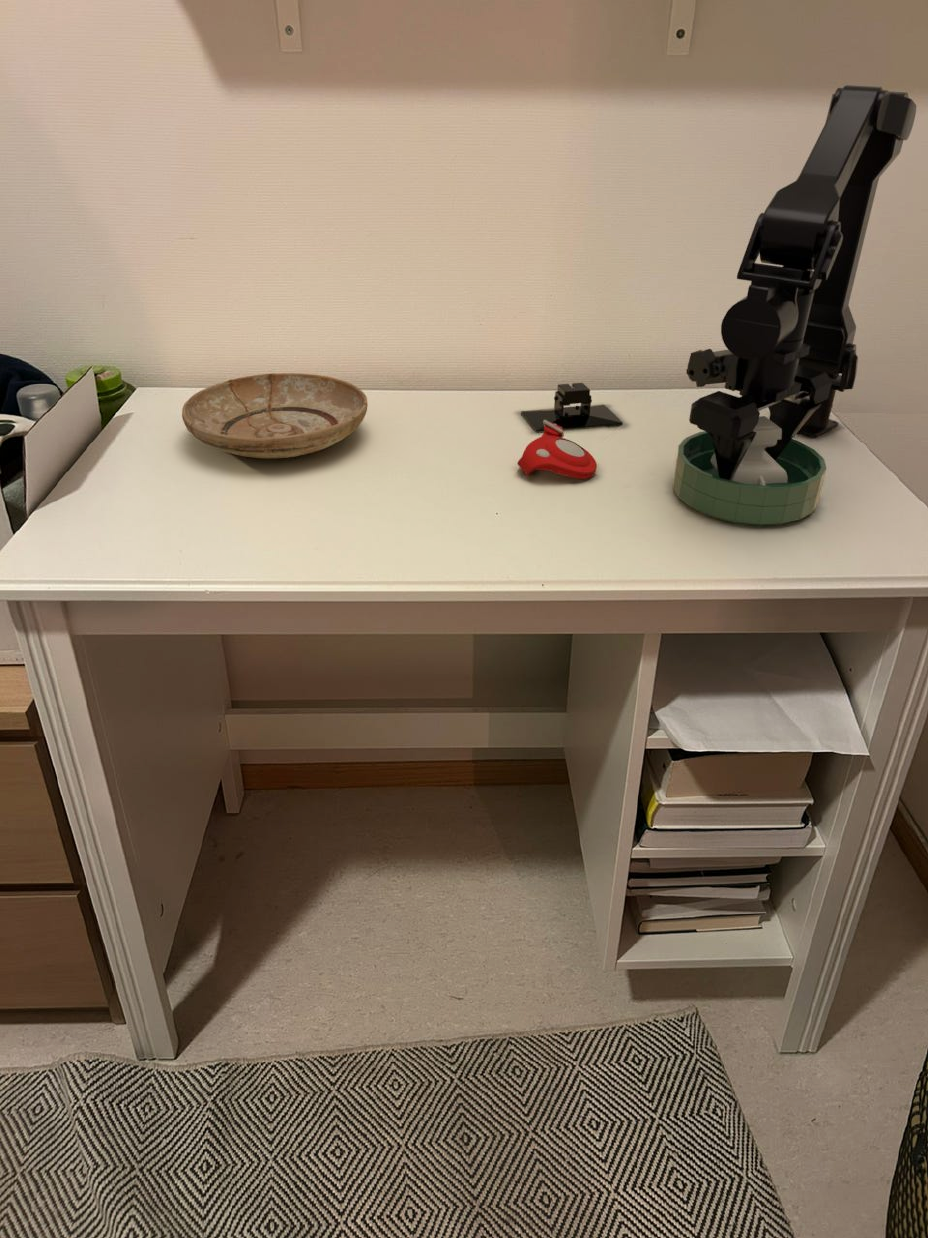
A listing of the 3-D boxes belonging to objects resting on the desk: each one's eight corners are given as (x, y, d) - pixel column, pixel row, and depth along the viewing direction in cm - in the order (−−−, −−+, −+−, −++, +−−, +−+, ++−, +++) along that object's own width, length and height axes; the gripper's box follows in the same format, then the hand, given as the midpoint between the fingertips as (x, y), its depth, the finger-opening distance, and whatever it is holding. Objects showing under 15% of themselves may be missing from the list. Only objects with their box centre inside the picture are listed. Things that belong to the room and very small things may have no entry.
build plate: (603, 407, 130) (607, 375, 127) (623, 426, 124) (628, 393, 121) (520, 413, 127) (522, 380, 125) (536, 433, 121) (539, 399, 119)
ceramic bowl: (347, 397, 131) (345, 363, 128) (388, 463, 113) (387, 425, 110) (180, 414, 125) (174, 379, 122) (195, 487, 107) (188, 447, 104)
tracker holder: (616, 465, 110) (554, 465, 105) (600, 495, 113) (539, 496, 107) (560, 411, 117) (499, 408, 111) (547, 441, 120) (487, 439, 114)
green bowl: (725, 455, 116) (732, 418, 113) (842, 499, 106) (853, 459, 103) (644, 492, 107) (649, 452, 104) (764, 544, 97) (773, 501, 94)
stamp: (788, 506, 103) (804, 436, 99) (732, 510, 102) (746, 439, 98) (755, 472, 111) (768, 405, 106) (702, 475, 110) (714, 408, 105)
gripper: (759, 302, 106) (735, 429, 115) (658, 332, 96) (640, 469, 105) (848, 324, 99) (815, 457, 108) (750, 359, 89) (722, 503, 98)
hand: (748, 470), depth 105 cm, fingers open, 9 cm apart
